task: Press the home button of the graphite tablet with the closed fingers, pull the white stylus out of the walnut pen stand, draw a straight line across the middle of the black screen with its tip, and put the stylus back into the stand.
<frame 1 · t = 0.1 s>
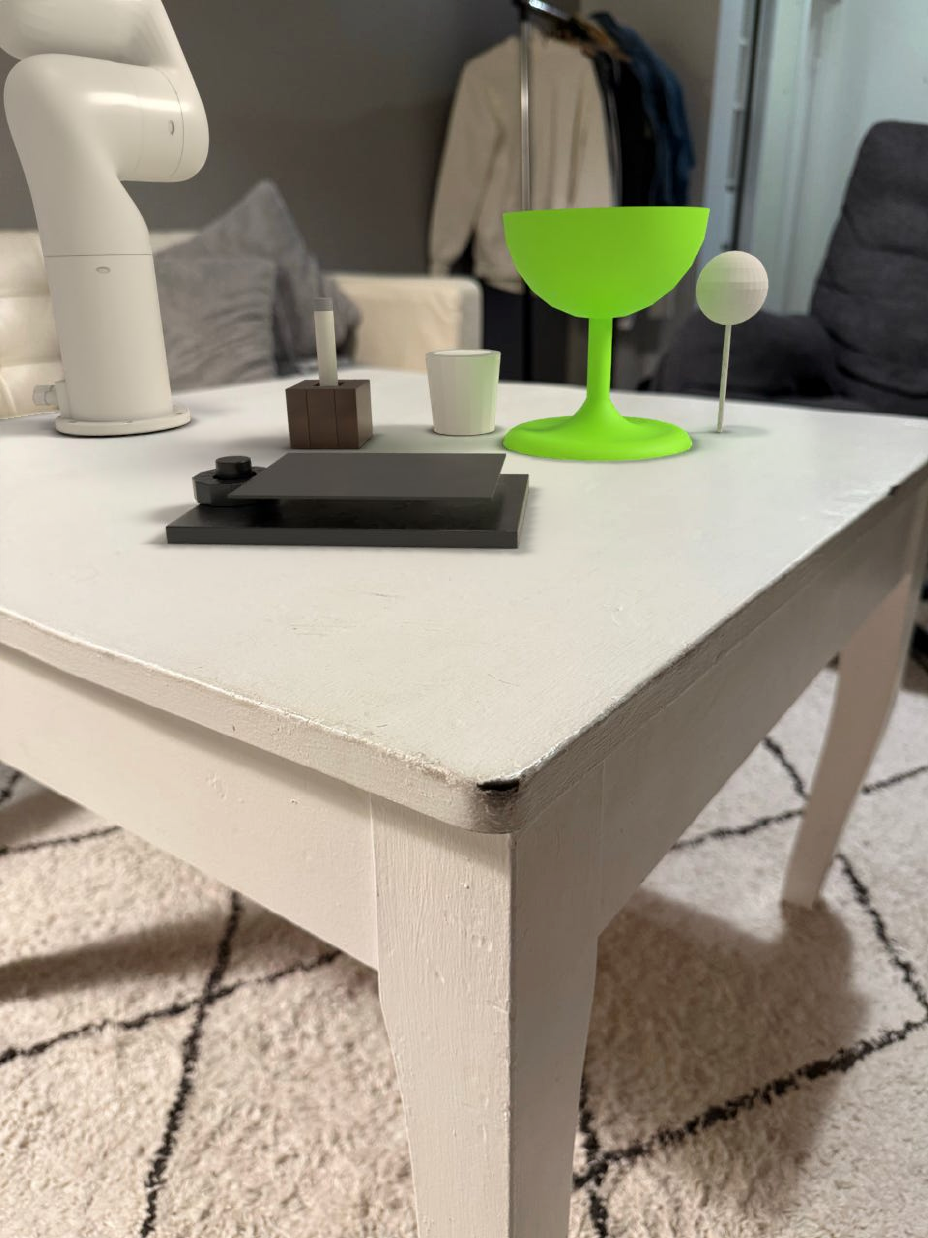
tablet: (365, 514, 58), on the table
pen stand: (333, 441, 81), on the table
stylus: (328, 371, 78), in the pen stand
screen: (378, 473, 56), on the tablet, point 2 cm above the table
lollipop: (719, 434, 82), on the table
shot glass: (464, 431, 85), on the table
wineglass: (596, 444, 78), on the table
home button: (234, 469, 57), point 3 cm above the table, slide at 0.2 cm
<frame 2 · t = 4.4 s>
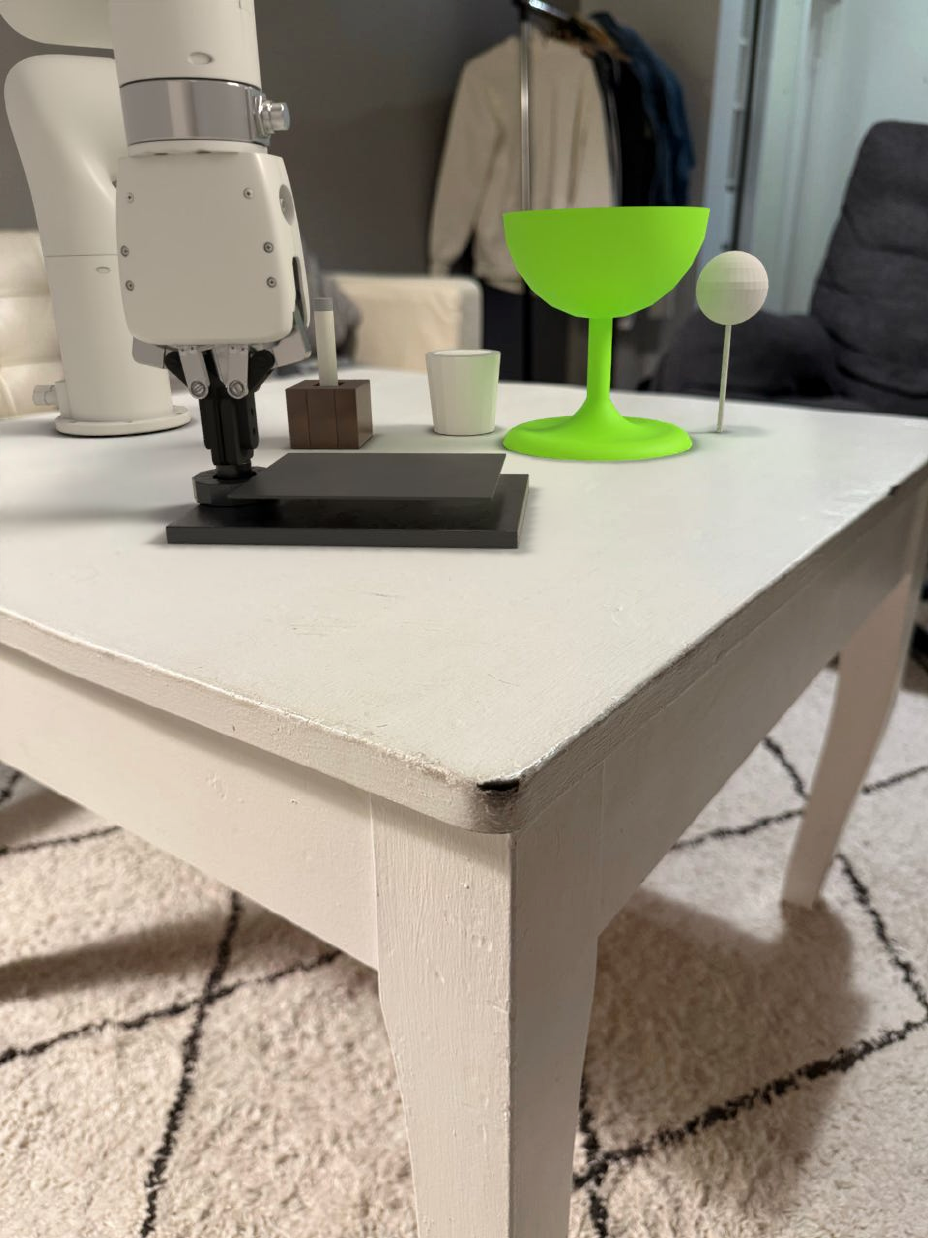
hand: (234, 460, 57), 3 cm above the table, tool pointing down, fingers closed
home button: (234, 471, 57), point 3 cm above the table, slide at 0.0 cm, touching gripper
everything else where it was.
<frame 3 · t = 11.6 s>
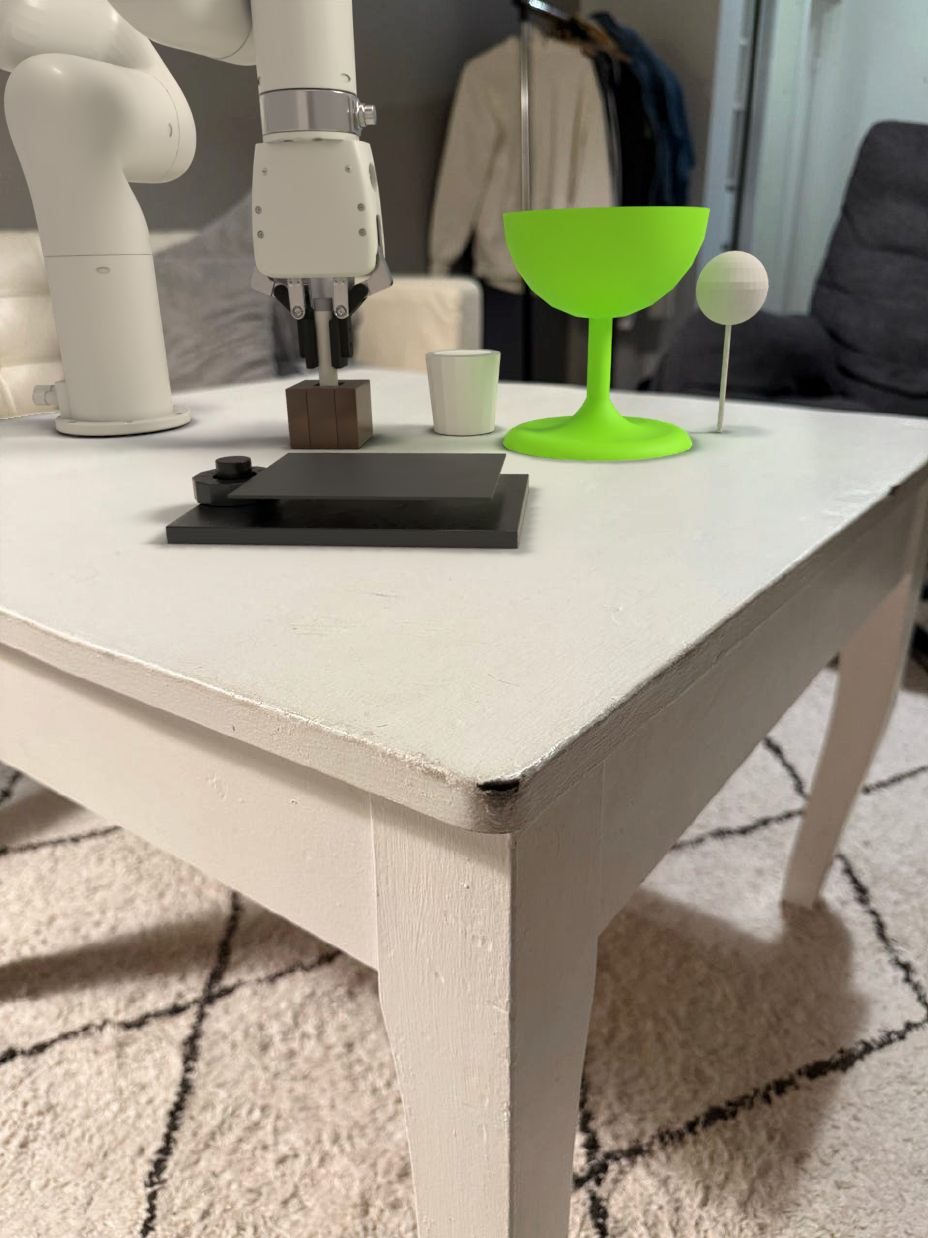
hand: (327, 365, 78), 7 cm above the table, tool pointing down, fingers closed on stylus, 1 cm apart
stylus: (328, 371, 78), in the pen stand, touching gripper
home button: (234, 469, 57), point 3 cm above the table, slide at 0.1 cm
everything else where it was.
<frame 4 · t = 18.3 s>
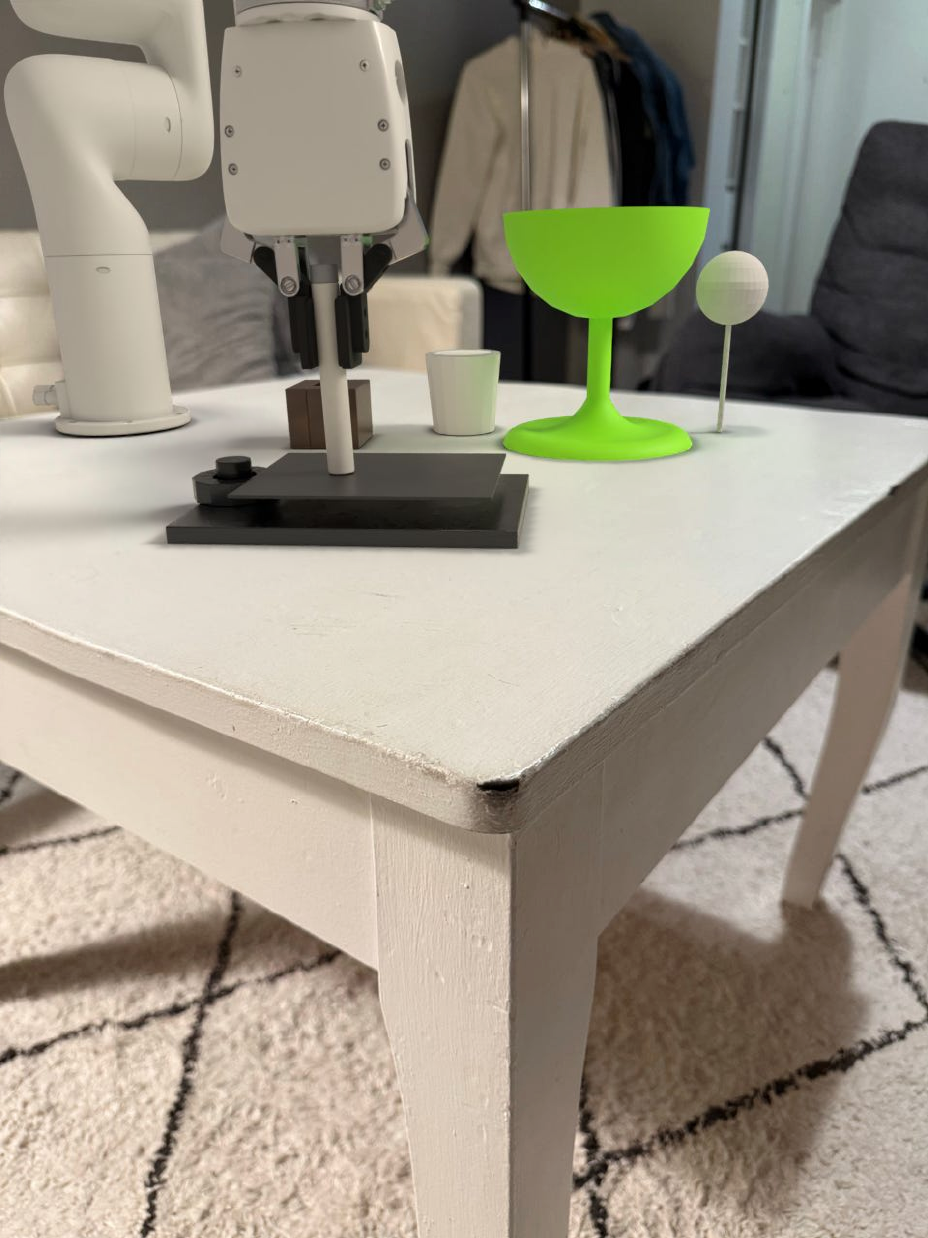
hand: (332, 364, 54), 9 cm above the table, tool pointing down, fingers closed on stylus, 1 cm apart
stylus: (332, 372, 54), point 9 cm above the table, touching gripper
everything else where it was.
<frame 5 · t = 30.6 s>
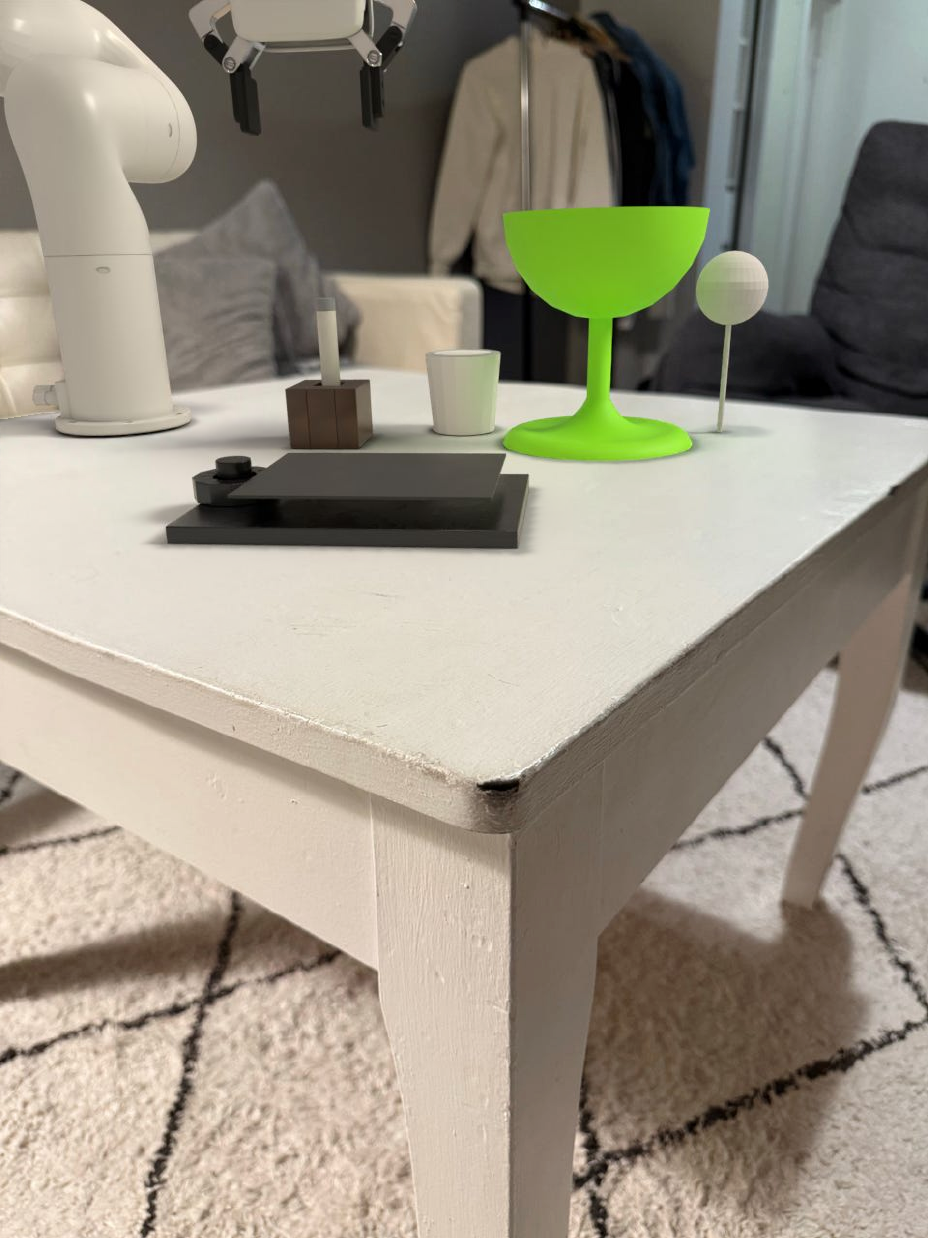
hand: (310, 131, 72), 24 cm above the table, tool pointing down, fingers open, 9 cm apart
stylus: (330, 371, 78), in the pen stand
everything else where it was.
at the end: home button pushed in 0.7 cm at the most during the clip, back to where it started at the end; stylus 0.2 cm off-centre in the pen stand, point 6.0 cm above the pen stand's base; stylus tilted 0° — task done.
